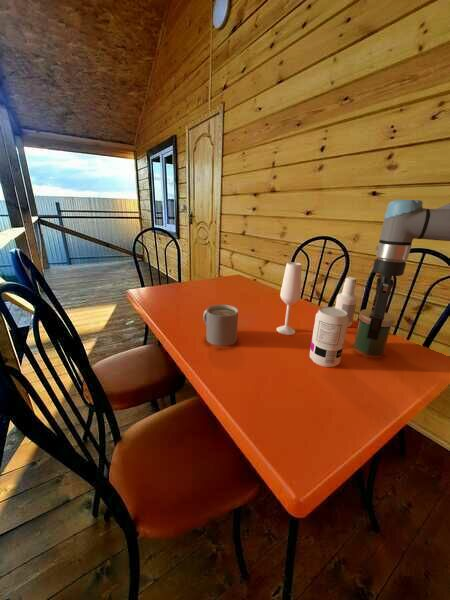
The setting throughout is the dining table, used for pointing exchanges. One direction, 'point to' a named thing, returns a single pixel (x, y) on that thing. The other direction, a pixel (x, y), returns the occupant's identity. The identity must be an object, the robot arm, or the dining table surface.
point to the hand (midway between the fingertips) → (372, 332)
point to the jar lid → (366, 314)
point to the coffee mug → (221, 324)
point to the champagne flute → (290, 292)
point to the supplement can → (328, 336)
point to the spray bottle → (347, 299)
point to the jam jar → (370, 340)
